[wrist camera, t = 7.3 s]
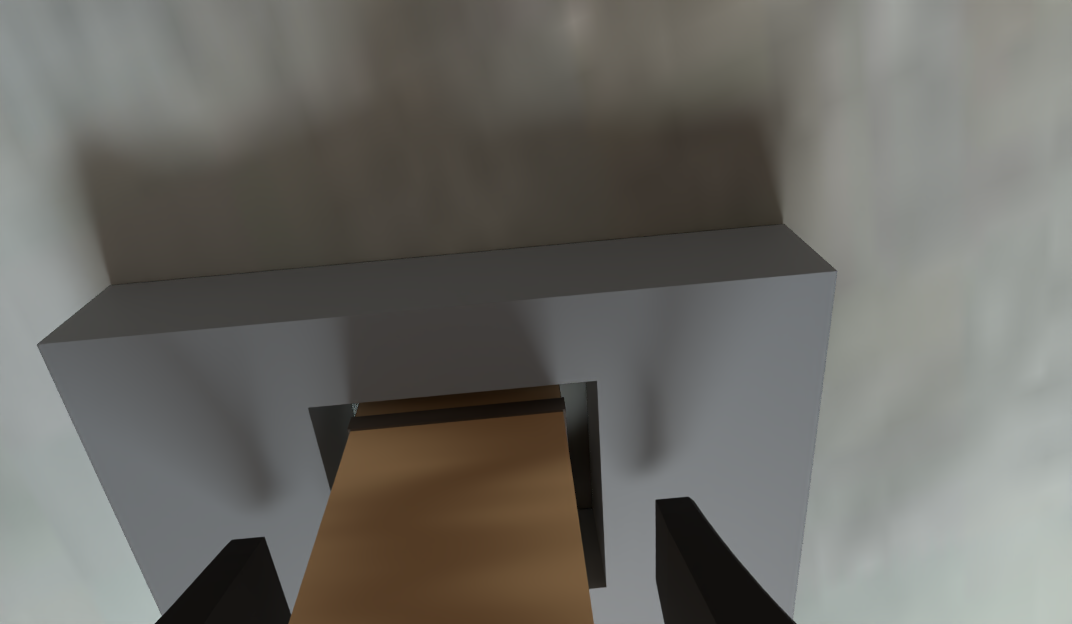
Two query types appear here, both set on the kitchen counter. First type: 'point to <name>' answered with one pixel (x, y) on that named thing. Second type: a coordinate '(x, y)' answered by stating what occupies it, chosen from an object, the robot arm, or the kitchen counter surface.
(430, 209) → the kitchen counter surface
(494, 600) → the oak peg
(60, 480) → the kitchen counter surface
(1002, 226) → the kitchen counter surface
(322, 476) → the hole board
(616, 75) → the kitchen counter surface
